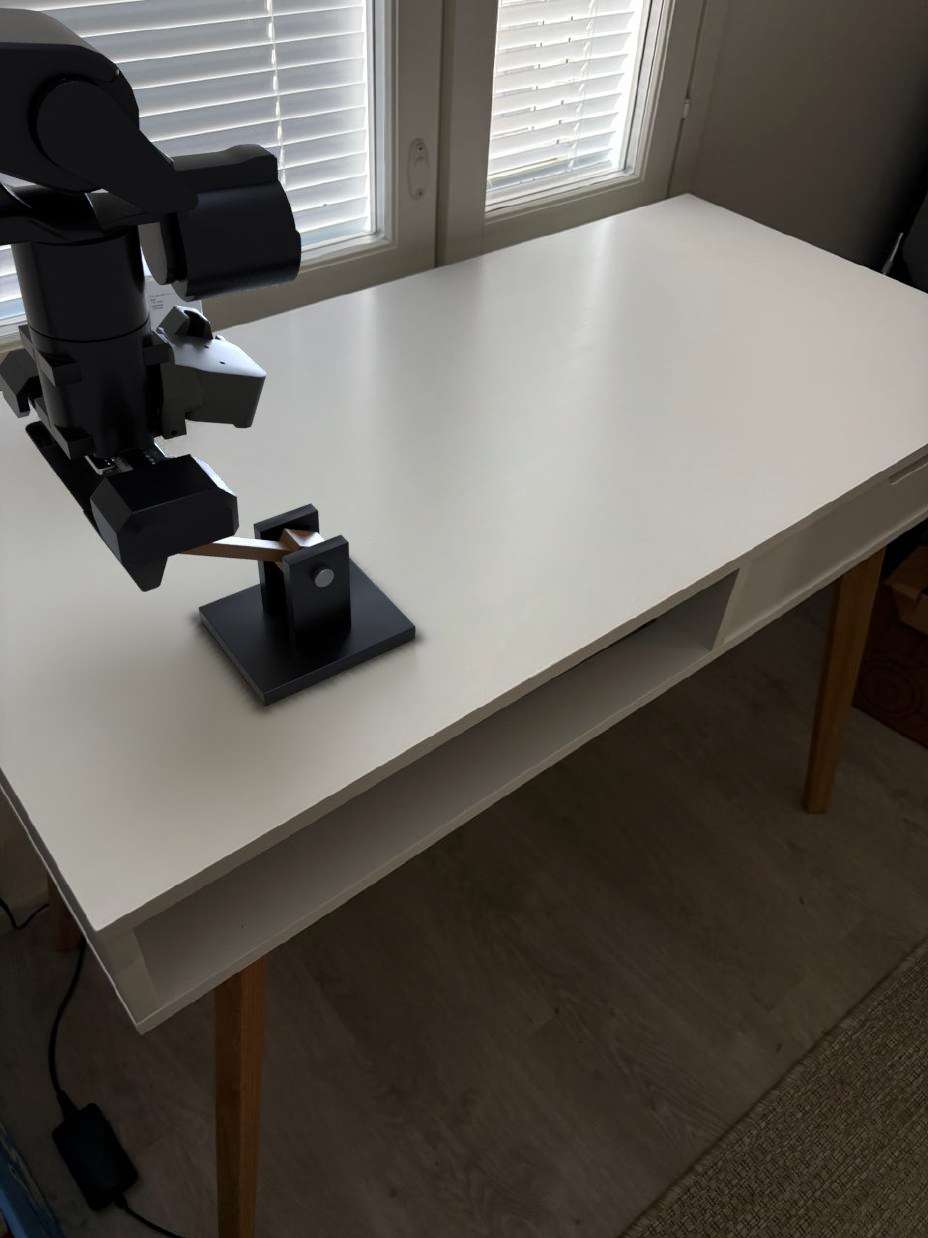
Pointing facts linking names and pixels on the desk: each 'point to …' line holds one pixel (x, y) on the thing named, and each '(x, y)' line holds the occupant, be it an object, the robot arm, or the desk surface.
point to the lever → (259, 547)
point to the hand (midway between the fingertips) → (132, 562)
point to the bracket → (304, 614)
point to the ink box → (163, 298)
